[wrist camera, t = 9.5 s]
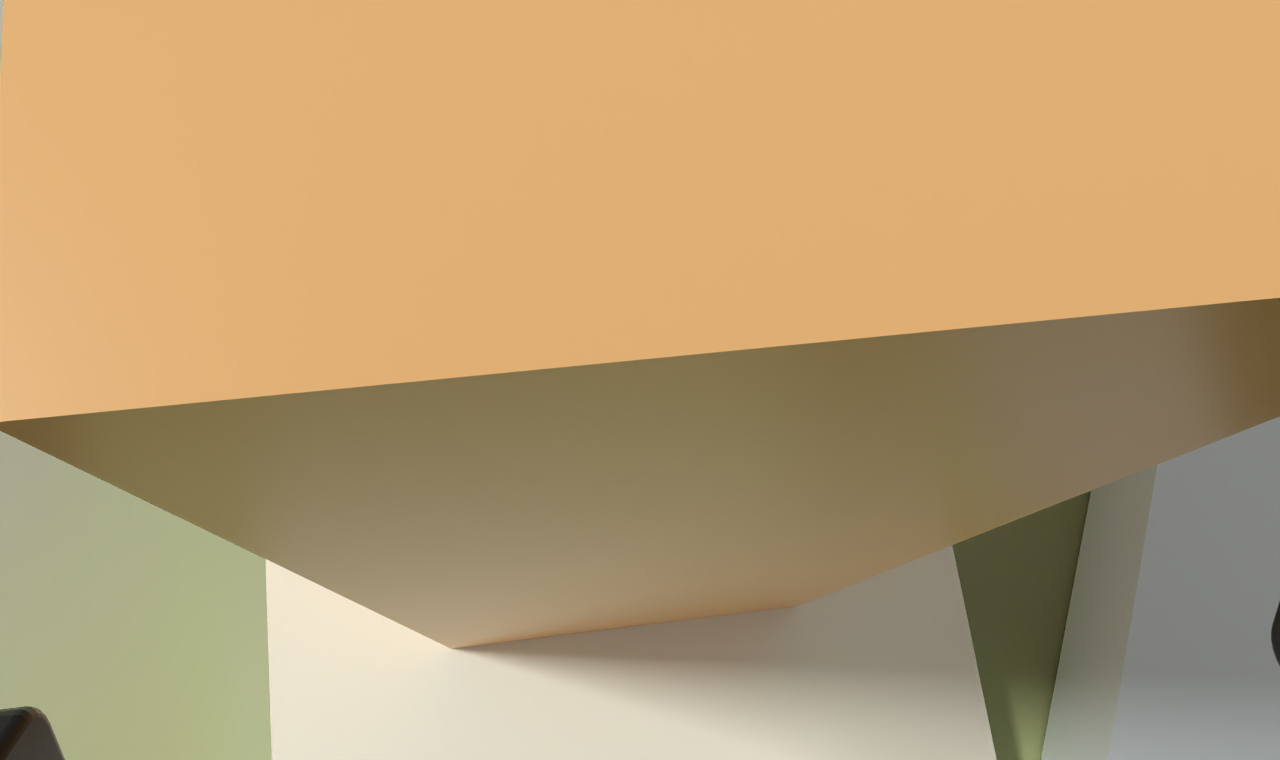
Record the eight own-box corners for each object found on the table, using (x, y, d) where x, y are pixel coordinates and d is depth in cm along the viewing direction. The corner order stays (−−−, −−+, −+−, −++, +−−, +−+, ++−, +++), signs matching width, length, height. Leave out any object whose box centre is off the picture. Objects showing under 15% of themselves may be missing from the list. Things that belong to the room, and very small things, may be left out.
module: (796, 606, 16) (1678, 257, 3) (450, 648, 15) (-17, 421, 3) (745, 287, 17) (1237, -800, 5) (426, 316, 17) (40, -820, 4)
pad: (981, 761, 16) (997, 763, 15) (286, 862, 15) (275, 867, 14) (858, 152, 19) (867, 135, 18) (263, 200, 18) (253, 184, 17)
